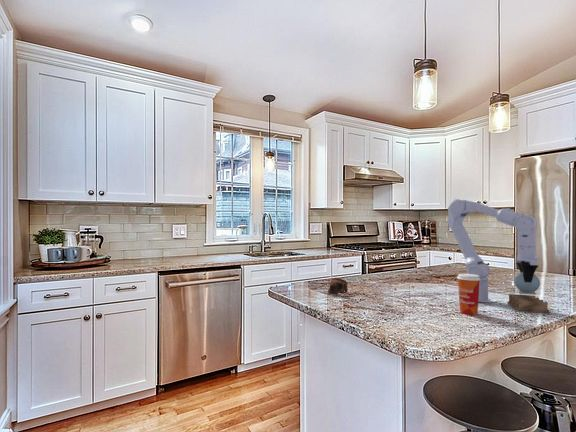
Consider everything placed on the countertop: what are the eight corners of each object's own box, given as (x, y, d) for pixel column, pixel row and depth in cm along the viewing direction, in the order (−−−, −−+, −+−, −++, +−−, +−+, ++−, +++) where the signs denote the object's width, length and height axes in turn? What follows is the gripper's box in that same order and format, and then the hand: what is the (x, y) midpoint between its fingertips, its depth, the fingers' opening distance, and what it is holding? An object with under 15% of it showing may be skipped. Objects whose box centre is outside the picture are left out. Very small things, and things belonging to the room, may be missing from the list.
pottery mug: (322, 294, 156) (326, 277, 159) (338, 301, 159) (342, 285, 162) (336, 292, 146) (341, 274, 149) (353, 300, 148) (357, 283, 152)
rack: (517, 311, 124) (517, 300, 125) (507, 303, 136) (507, 293, 136) (549, 313, 121) (549, 302, 121) (536, 305, 132) (536, 295, 132)
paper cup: (452, 311, 124) (452, 274, 124) (467, 309, 127) (467, 272, 127) (470, 317, 117) (470, 277, 117) (486, 314, 119) (485, 276, 120)
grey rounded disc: (515, 293, 129) (515, 271, 129) (514, 292, 131) (514, 271, 131) (540, 294, 127) (539, 272, 127) (538, 294, 128) (538, 272, 128)
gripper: (547, 248, 121) (547, 285, 120) (531, 245, 134) (531, 279, 134) (524, 247, 123) (524, 284, 123) (511, 245, 137) (511, 278, 136)
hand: (527, 281), depth 129 cm, fingers closed on grey rounded disc, 2 cm apart
